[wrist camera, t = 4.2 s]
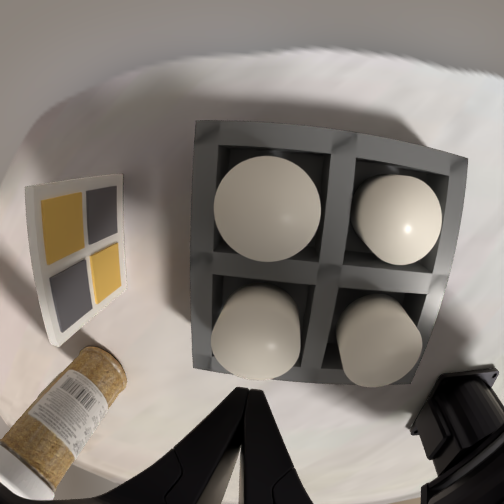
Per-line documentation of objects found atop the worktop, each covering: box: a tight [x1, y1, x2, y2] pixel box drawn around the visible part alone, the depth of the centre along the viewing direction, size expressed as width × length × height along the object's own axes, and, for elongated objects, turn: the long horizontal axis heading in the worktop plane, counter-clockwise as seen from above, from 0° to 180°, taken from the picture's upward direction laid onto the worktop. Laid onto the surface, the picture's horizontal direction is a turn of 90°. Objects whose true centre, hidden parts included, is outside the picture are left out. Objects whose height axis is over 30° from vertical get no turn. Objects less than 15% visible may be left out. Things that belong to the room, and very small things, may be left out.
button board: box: [190, 120, 468, 385], centre depth 14 cm, size 12×12×3 cm
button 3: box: [211, 283, 300, 380], centre depth 12 cm, size 4×4×2 cm
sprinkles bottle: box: [0, 347, 127, 500], centre depth 13 cm, size 5×5×14 cm
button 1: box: [336, 294, 422, 387], centre depth 12 cm, size 4×4×2 cm
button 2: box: [350, 174, 442, 265], centre depth 12 cm, size 4×4×2 cm
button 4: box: [214, 156, 321, 262], centre depth 11 cm, size 4×4×2 cm
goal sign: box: [25, 174, 127, 347], centre depth 13 cm, size 1×7×7 cm, turn 177°
